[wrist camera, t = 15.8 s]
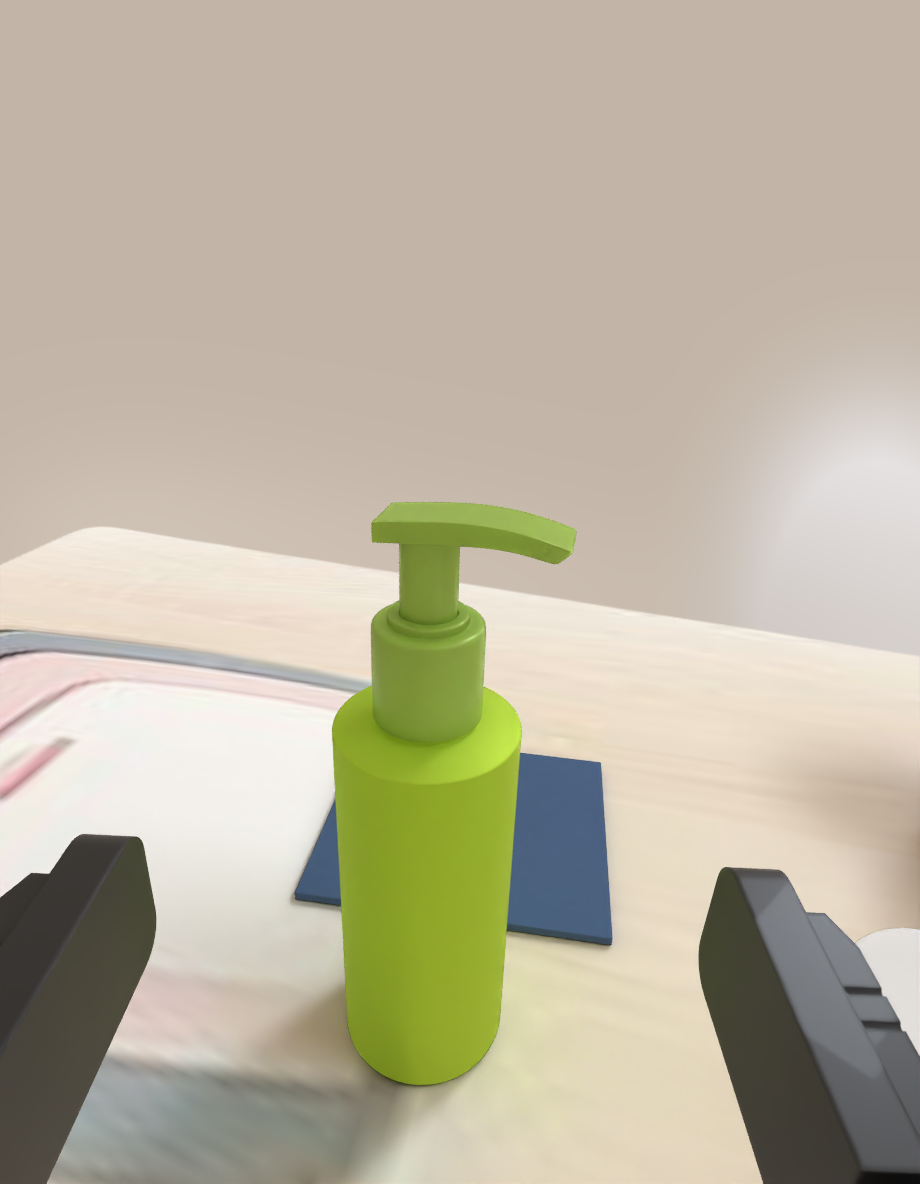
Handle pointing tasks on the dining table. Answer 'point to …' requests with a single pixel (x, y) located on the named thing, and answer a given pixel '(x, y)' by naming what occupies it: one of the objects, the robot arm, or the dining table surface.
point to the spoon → (897, 973)
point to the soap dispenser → (430, 802)
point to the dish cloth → (528, 853)
